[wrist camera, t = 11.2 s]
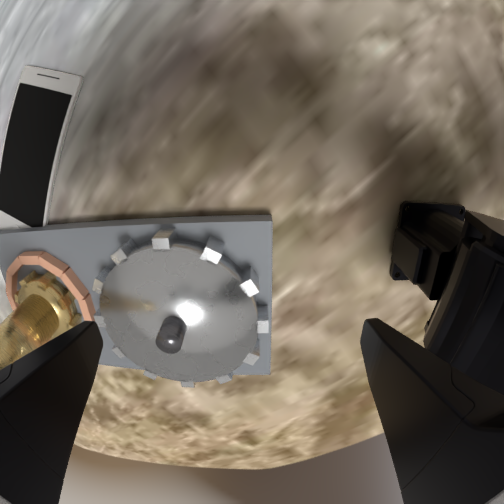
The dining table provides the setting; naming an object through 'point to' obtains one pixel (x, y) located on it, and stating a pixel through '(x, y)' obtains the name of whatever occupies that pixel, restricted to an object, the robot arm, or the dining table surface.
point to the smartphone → (34, 145)
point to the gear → (181, 308)
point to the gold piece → (36, 316)
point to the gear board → (140, 230)
